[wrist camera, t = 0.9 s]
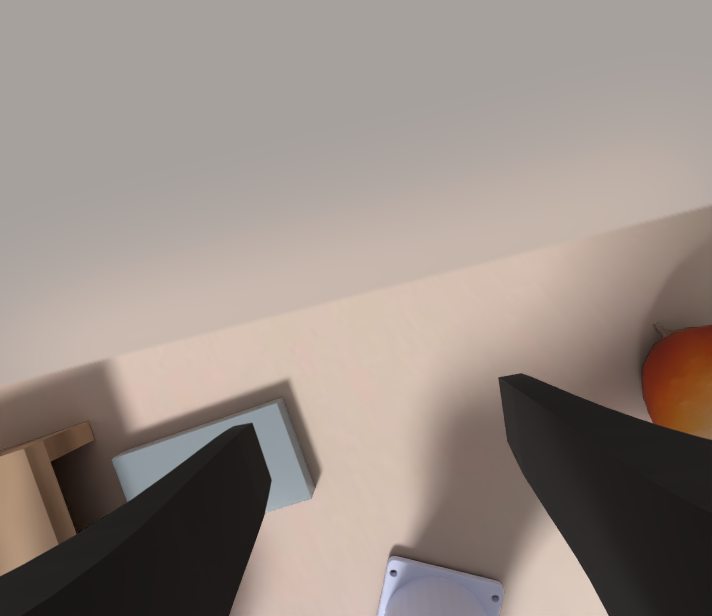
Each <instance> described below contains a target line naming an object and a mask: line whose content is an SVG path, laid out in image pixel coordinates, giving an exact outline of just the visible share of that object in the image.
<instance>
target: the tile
mask: <svg viewBox="0 0 712 616" xmlns="http://www.w3.org/2000/svg"><path fill="white" fill-rule="evenodd" d="M247 423H253V425H254V428H255V431H256V434H257V437H258V440H259V443H260V446H261V449H262V452H263V455H264V458H265V461H266V464H267V467H268V470H269V473H270V476H271V479H272V482H271V487H270V492H269V498H268V502H267V506H266V510H265V513H267V512H270V511H273V510H276V509H280V508H283V507H286V506H289V505H293V504H296V503H299V502H302V501H306V500H309V499H312V496H313V493H314V491H315V486H314V483H313V481H312V478H311V475H310V472H309V470H308V467H307V464H306V461H305V459H304V456H303V453H302V450H301V448H300V445H299V442H298V439H297V436H296V434H295V431H294V428H293V425H292V423H291V420H290V417H289V414H288V412H287V409H286V406H285V403H284V401H283V398H279V399H276V400H273V401H270V402H267V403H264V404H261V405H258V406H255V407H252V408H249V409H247V410H244V411H241V412H238V413H235V414H232V415H229V416H226V417H223V418H220V419H217V420H214V421H211V422H208V423H205V424H202V425H199V426H197V427H194V428H191V429H188V430H185V431H182V432H179V433H176V434H173V435H170V436H167V437H164V438H161V439H158V440H155V441H152V442H149V443H147V444H144V445H141V446H138V447H135V448H132V449H129V450H126V451H124V452H122V453H121V454H119V455H117V456H116V457H114V458H112V459H111V460H112V462H113V465H114V468H115V470H116V473H117V476H118V479H119V481H120V484H121V487H122V489H123V492H124V495H125V497H126V500H127V502H128V501H130V500H131V499H133V498H134V497H136V496H137V495H138V494H140V493H141V492H143V491H144V490H145V489H147V488H148V487H150V486H151V485H152V484H154V483H155V482H157V481H158V480H159V479H161V478H162V477H164V476H165V475H166V474H168V473H169V472H170V471H172V470H173V469H174V468H176V467H177V466H178V465H180V464H181V463H182V462H184V461H185V460H186V459H188V458H189V457H190V456H192V455H193V454H194V453H196V452H197V451H198V450H200V449H201V448H202V447H204V446H205V445H206V444H207V443H209V442H210V441H212V440H213V439H214V438H216V437H217V436H218V435H220V434H221V433H223V432H224V431H226V430H227V429H229V428H231V427H233V426H236V425H242V424H247Z"/></svg>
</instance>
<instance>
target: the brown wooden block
mask: <svg viewBox="0 0 712 616" xmlns="http://www.w3.org/2000/svg"><path fill="white" fill-rule="evenodd" d="M93 440H95V439H94V436H93V433H92V431H91V428H90V425H89V422H88V421H87V422H84V423H81V424H78V425H75V426H72V427H70V428H67V429H64V430H61V431H58V432H55V433H52V434H49V435H46V436H44V437H41V438H38V439H35V440H32V441H29V442H26V443H23V444H20V445H17V446H15V447H12V448H9V449H6V450H3V451H0V576H2V575H4V574H6V573H8V572H9V571H11V570H13V569H15V568H17V567H19V566H21V565H23V564H25V563H26V562H28V561H30V560H32V559H34V558H35V557H37V556H39V555H41V554H43V553H44V552H46V551H48V550H50V549H51V548H53V547H55V546H57V545H59V544H60V543H62V542H64V541H66V540H67V539H69V538H71V537H73V536H75V535H76V531H75V528H74V526H73V523H72V520H71V517H70V515H69V512H68V509H67V506H66V504H65V501H64V498H63V495H62V493H61V490H60V487H59V484H58V482H57V479H56V476H55V473H54V471H53V468H52V465H51V461H53V460H55V459H57V458H59V457H61V456H63V455H65V454H67V453H69V452H71V451H73V450H75V449H77V448H79V447H81V446H83V445H85V444H87V443H89V442H91V441H93Z"/></svg>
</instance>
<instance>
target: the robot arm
mask: <svg viewBox="0 0 712 616" xmlns="http://www.w3.org/2000/svg"><path fill="white" fill-rule="evenodd" d="M499 385H500V392H501V399H502V406H503V413H504V420H505V427H506V434H507V441H508V443H509V446H510V448H511V450H512V452H513V454H514V456H515V458H516V460H517V462H518V464H519V467H520V469H521V471H522V473H523V475H524V476H525V478H526V479H527V481H528V483H529V484H530V486H531V487H532V489H533V491H534V492H535V494H536V495H537V497H538V498H539V500H540V502H541V503H542V505H543V506H544V508H545V509H546V511H547V513H548V514H549V516H550V517H551V519H552V520H553V522H554V523H555V525H556V526H557V528H558V530H559V531H560V533H561V534H562V536H563V537H564V539H565V540H566V542H567V544H568V545H569V547H570V548H571V550H572V551H573V553H574V554H575V556H576V558H577V559H578V561H579V563H580V564H581V566H582V568H583V569H584V571H585V573H586V574H587V576H588V578H589V579H590V581H591V583H592V585H593V587H594V589H595V591H596V593H597V594H598V596H599V598H600V600H601V602H602V604H603V606H604V608H605V609H606V611H607V613H608V615H609V616H712V440H710V439H706V438H702V437H699V436H695V435H691V434H688V433H684V432H681V431H677V430H674V429H670V428H667V427H663V426H660V425H656V424H653V423H650V422H647V421H644V420H640V419H637V418H634V417H632V416H629V415H626V414H623V413H620V412H617V411H615V410H612V409H609V408H606V407H604V406H601V405H598V404H596V403H593V402H591V401H588V400H586V399H583V398H581V397H578V396H576V395H573V394H571V393H568V392H566V391H564V390H561V389H559V388H557V387H554V386H552V385H549V384H547V383H545V382H542V381H540V380H538V379H535V378H533V377H530V376H527V375H525V374H521V373H520V374H515V375H509V376H504V377H499ZM271 482H272V479H271V476H270V473H269V470H268V467H267V464H266V461H265V458H264V455H263V452H262V449H261V446H260V443H259V440H258V437H257V434H256V431H255V428H254V425H253V423H247V424H242V425H236V426H233V427H231V428H229V429H227V430H226V431H224V432H223V433H221V434H220V435H218V436H217V437H216V438H214V439H213V440H212V441H210V442H209V443H207V444H206V445H205V446H204V447H202V448H201V449H200V450H198V451H197V452H196V453H194V454H193V455H192V456H190V457H189V458H188V459H186V460H185V461H184V462H182V463H181V464H180V465H178V466H177V467H176V468H174V469H173V470H172V471H170V472H169V473H168V474H166V475H165V476H164V477H162V478H161V479H159V480H158V481H157V482H155V483H154V484H152V485H151V486H150V487H148V488H147V489H145V490H144V491H143V492H141V493H140V494H138V495H137V496H136V497H134V498H133V499H131V500H130V501H128V502H127V503H125V504H124V505H122V506H121V507H119V508H118V509H116V510H115V511H113V512H112V513H110V514H109V515H107V516H105V517H104V518H102V519H101V520H99V521H97V522H96V523H94V524H93V525H91V526H89V527H88V528H86V529H85V530H83V531H81V532H80V533H78V534H76V535H75V536H73V537H71V538H69V539H67V540H66V541H64V542H62V543H60V544H59V545H57V546H55V547H53V548H51V549H50V550H48V551H46V552H44V553H43V554H41V555H39V556H37V557H35V558H34V559H32V560H30V561H28V562H26V563H25V564H23V565H21V566H19V567H17V568H15V569H13V570H11V571H9V572H8V573H6V574H4V575H2V576H0V616H229V614H230V611H231V608H232V605H233V602H234V599H235V596H236V594H237V591H238V588H239V585H240V582H241V580H242V577H243V574H244V571H245V569H246V566H247V563H248V560H249V558H250V555H251V552H252V549H253V546H254V544H255V541H256V538H257V535H258V532H259V529H260V527H261V524H262V521H263V518H264V515H265V510H266V506H267V502H268V498H269V492H270V487H271ZM391 570H396V572H391ZM493 595H497V596H496V597H492V596H493ZM503 596H504V589H503V586H502V584H501V583H500V582H499V581H496V580H492V579H488V578H484V577H480V576H476V575H472V574H468V573H463V572H459V571H455V570H451V569H447V568H443V567H439V566H435V565H431V564H427V563H423V562H419V561H415V560H410V559H406V558H402V557H398V556H391V557H390V558H389V559H388V562H387V567H386V572H385V577H384V582H383V587H382V593H381V598H380V603H379V608H378V613H377V616H499V614H500V609H501V605H502V600H503Z"/></svg>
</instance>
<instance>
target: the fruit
mask: <svg viewBox="0 0 712 616" xmlns="http://www.w3.org/2000/svg"><path fill="white" fill-rule="evenodd" d="M654 326H655V327H656V328H657V330H658V331H659V332H660V334H661V335H662V339H661V340H660V341H658V342H657V343H656V344H655V345H654V346H653V348H652V349H651V351H650V353H649V355H648V357H647V359H646V361H645V364H644V366H643V370H642V389H643V398H644V401H645V404H646V407H647V410H648V413H649V415H650V417H651V419H652V422H653V424H656V425H660V426H663V427H667V428H670V429H674V430H677V431H681V432H684V433H688V434H691V435H695V436H699V437H702V438H706V439H710V440H712V325H709V326H703V327H690V328H684V329H680V330H671V331H670V330H665V329H664V328H662V327H661V326H660V325H659V324H658V323H656V324H654Z"/></svg>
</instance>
